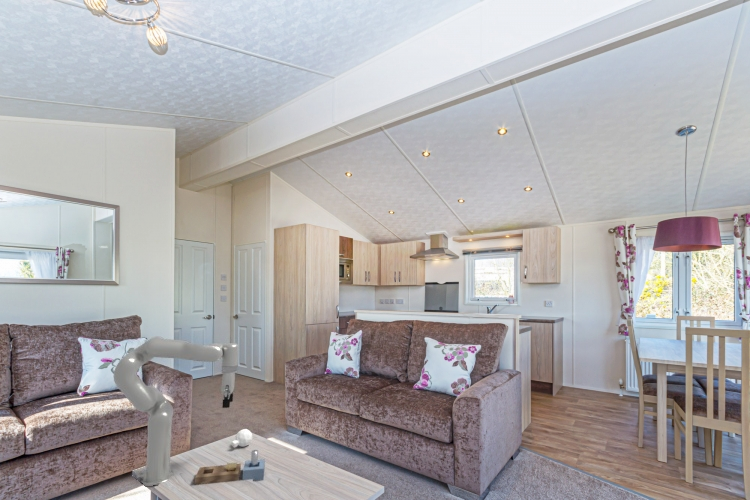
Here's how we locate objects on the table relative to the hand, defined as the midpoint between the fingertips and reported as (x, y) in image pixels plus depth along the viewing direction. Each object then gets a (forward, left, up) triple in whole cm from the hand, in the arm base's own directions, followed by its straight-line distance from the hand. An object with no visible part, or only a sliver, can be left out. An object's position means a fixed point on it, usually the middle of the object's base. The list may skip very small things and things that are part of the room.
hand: (227, 404), depth 191 cm
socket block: (-1, -11, -30) cm, 32 cm away
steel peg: (+14, -11, -29) cm, 34 cm away
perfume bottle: (+5, +25, -30) cm, 39 cm away
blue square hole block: (+14, -11, -30) cm, 35 cm away
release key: (+4, -11, -28) cm, 31 cm away
